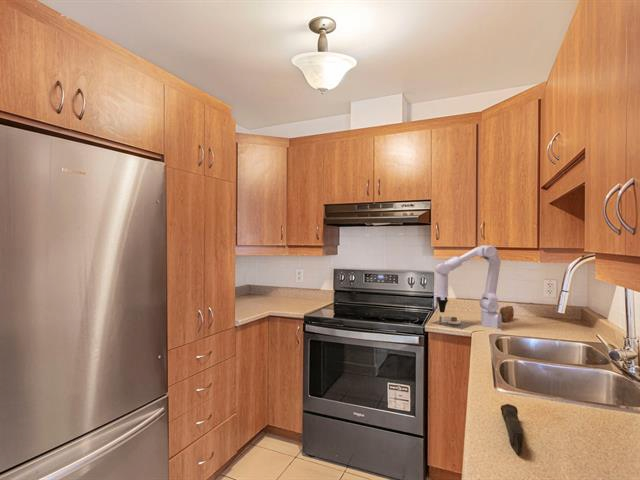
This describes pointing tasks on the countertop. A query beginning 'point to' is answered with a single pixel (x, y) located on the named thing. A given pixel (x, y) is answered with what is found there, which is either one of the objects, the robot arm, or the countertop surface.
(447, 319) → the dial
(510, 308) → the brown slab
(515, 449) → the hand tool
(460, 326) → the dial plate
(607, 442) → the countertop surface
